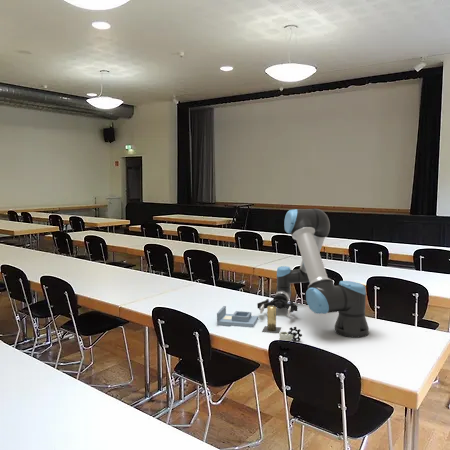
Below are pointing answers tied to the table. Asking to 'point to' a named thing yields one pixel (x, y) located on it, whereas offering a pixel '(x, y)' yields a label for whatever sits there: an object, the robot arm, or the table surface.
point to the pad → (271, 331)
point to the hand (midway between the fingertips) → (274, 311)
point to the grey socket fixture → (236, 318)
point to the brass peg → (271, 318)
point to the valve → (292, 335)
